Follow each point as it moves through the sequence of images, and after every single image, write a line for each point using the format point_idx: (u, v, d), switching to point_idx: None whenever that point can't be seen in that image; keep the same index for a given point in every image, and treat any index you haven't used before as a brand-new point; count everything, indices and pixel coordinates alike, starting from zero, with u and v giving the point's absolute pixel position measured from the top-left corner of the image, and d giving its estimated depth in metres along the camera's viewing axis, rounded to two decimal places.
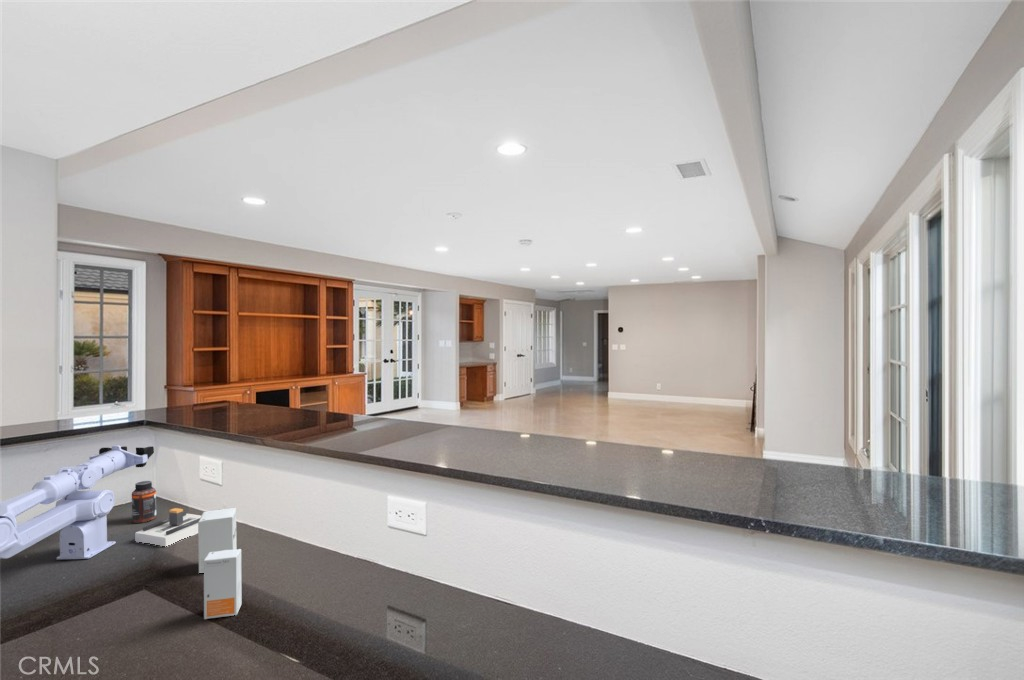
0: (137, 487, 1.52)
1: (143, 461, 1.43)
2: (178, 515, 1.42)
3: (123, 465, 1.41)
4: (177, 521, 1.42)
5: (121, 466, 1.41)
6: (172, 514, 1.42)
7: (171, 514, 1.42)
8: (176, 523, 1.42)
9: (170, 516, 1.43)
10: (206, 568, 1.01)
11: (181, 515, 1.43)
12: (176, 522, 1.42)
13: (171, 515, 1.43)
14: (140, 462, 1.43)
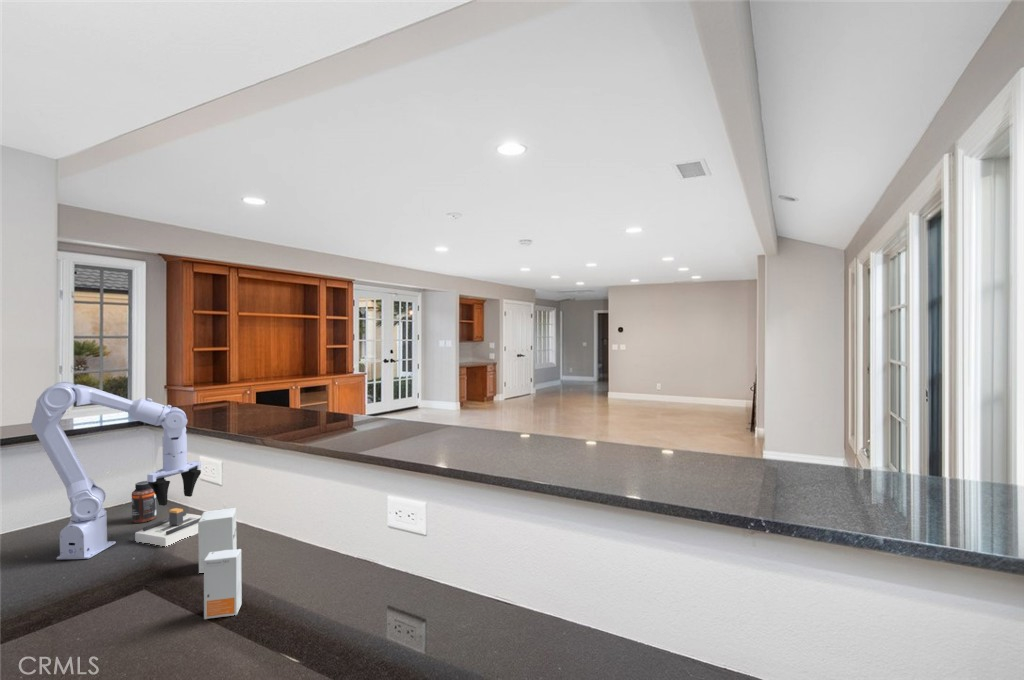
0: (137, 487, 1.52)
1: (148, 475, 1.36)
2: (178, 515, 1.42)
3: (163, 466, 1.41)
4: (177, 521, 1.42)
5: (163, 463, 1.41)
6: (172, 514, 1.42)
7: (171, 514, 1.42)
8: (176, 523, 1.42)
9: (170, 516, 1.43)
10: (206, 568, 1.01)
11: (181, 515, 1.43)
12: (176, 522, 1.42)
13: (171, 515, 1.43)
14: None
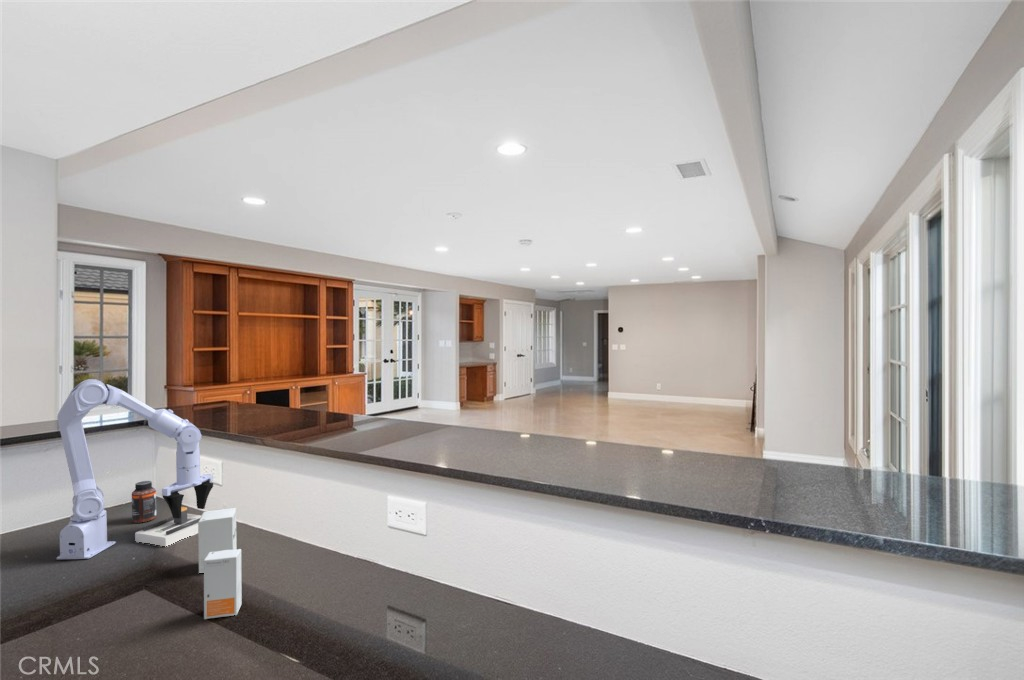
0: (137, 487, 1.52)
1: (163, 489, 1.40)
2: (183, 514, 1.44)
3: (177, 480, 1.45)
4: (181, 519, 1.43)
5: (177, 477, 1.45)
6: None
7: None
8: (180, 521, 1.43)
9: None
10: (206, 568, 1.01)
11: (185, 513, 1.44)
12: (180, 520, 1.43)
13: None
14: None
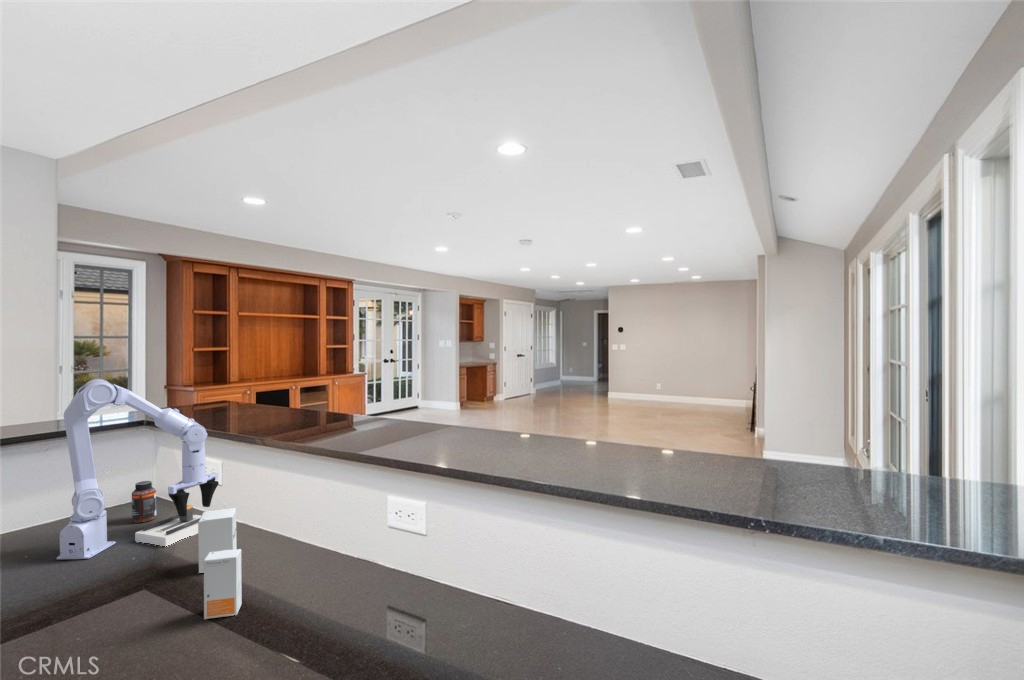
0: (137, 487, 1.52)
1: (169, 487, 1.42)
2: (188, 511, 1.45)
3: (182, 478, 1.46)
4: (187, 517, 1.45)
5: (182, 475, 1.46)
6: None
7: None
8: (186, 519, 1.45)
9: None
10: (206, 568, 1.01)
11: (191, 511, 1.46)
12: (186, 518, 1.45)
13: None
14: (171, 486, 1.43)
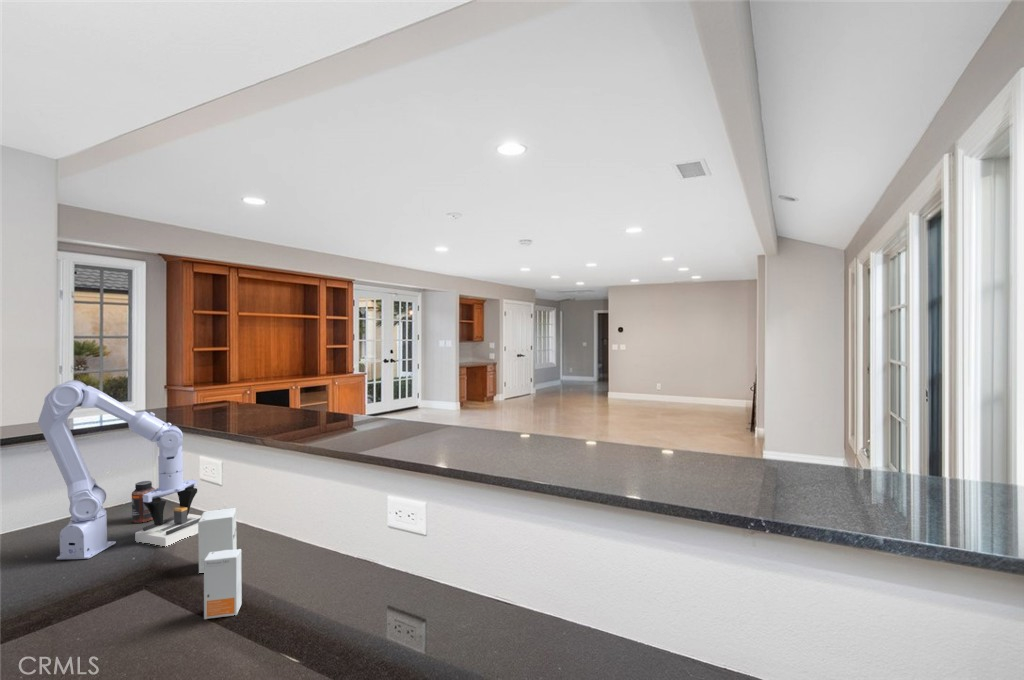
0: (137, 487, 1.52)
1: (144, 495, 1.35)
2: (183, 513, 1.44)
3: (159, 485, 1.40)
4: (182, 519, 1.43)
5: (159, 483, 1.40)
6: (177, 512, 1.44)
7: (176, 512, 1.44)
8: (181, 521, 1.43)
9: (175, 514, 1.44)
10: (206, 568, 1.01)
11: (185, 513, 1.45)
12: (181, 520, 1.43)
13: (176, 513, 1.44)
14: (146, 494, 1.36)
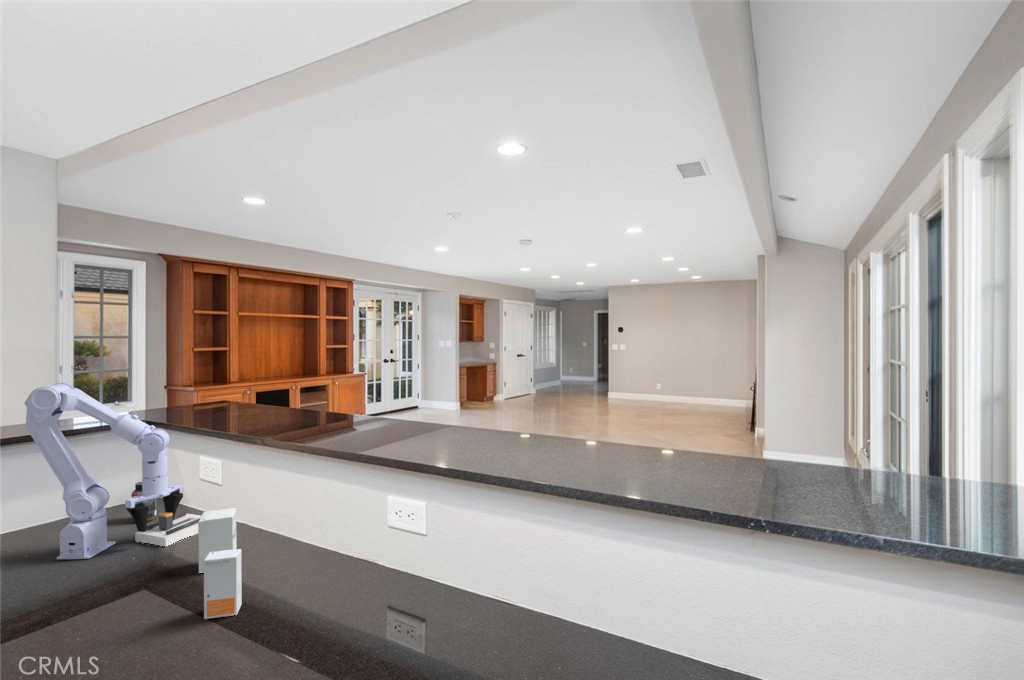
0: (137, 487, 1.52)
1: (126, 501, 1.31)
2: (168, 519, 1.40)
3: (142, 490, 1.35)
4: (167, 525, 1.39)
5: (142, 488, 1.35)
6: (162, 518, 1.39)
7: (160, 518, 1.40)
8: (166, 527, 1.39)
9: (159, 520, 1.40)
10: (206, 568, 1.01)
11: (171, 519, 1.40)
12: (166, 526, 1.39)
13: (161, 519, 1.40)
14: (129, 500, 1.32)
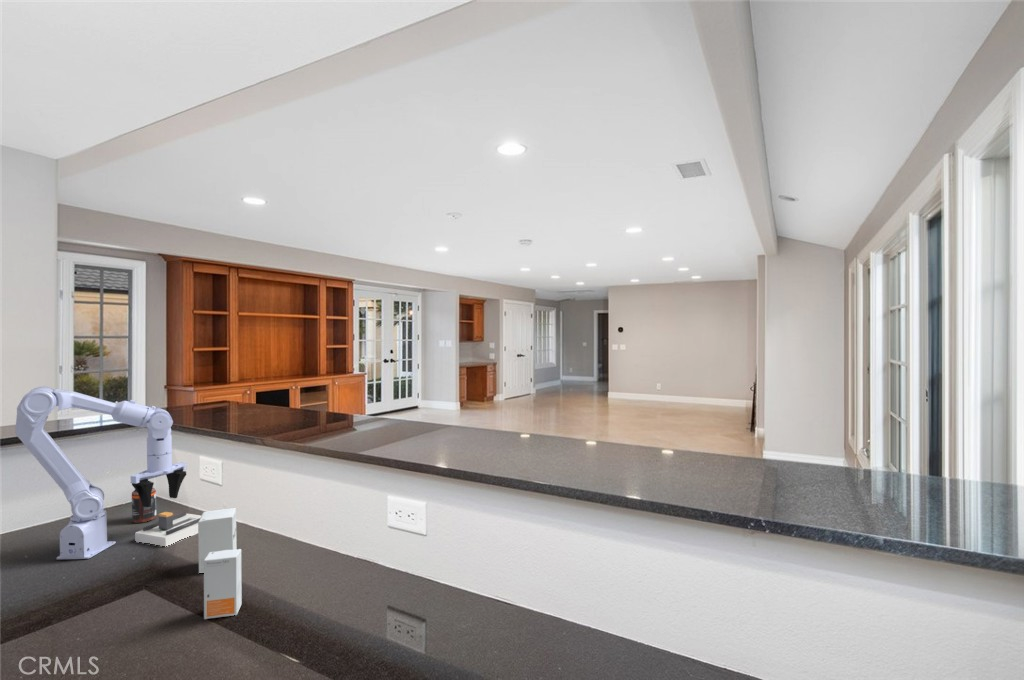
0: None
1: (131, 477, 1.35)
2: (168, 519, 1.40)
3: (147, 467, 1.40)
4: (167, 525, 1.39)
5: (147, 464, 1.40)
6: (162, 518, 1.39)
7: (160, 518, 1.40)
8: (166, 527, 1.39)
9: (159, 520, 1.40)
10: (206, 568, 1.01)
11: (171, 519, 1.40)
12: (166, 526, 1.39)
13: (161, 519, 1.40)
14: (134, 475, 1.36)
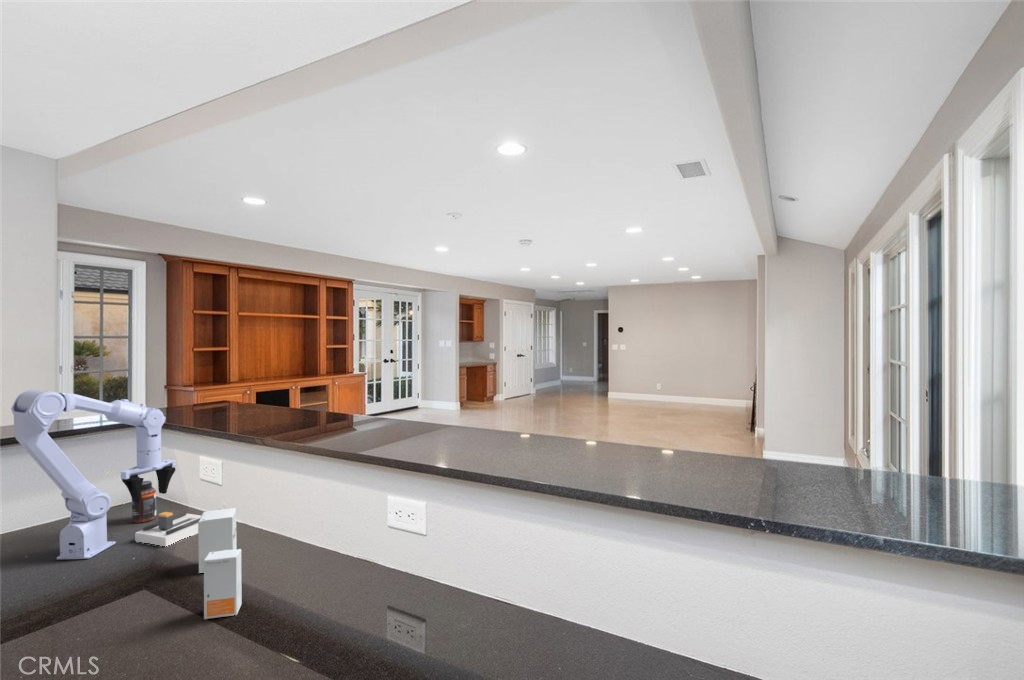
0: None
1: (122, 472, 1.39)
2: (168, 519, 1.40)
3: (137, 463, 1.43)
4: (167, 525, 1.39)
5: (137, 461, 1.43)
6: (162, 518, 1.39)
7: (160, 518, 1.40)
8: (166, 527, 1.39)
9: (159, 520, 1.40)
10: (206, 568, 1.01)
11: (171, 519, 1.40)
12: (166, 526, 1.39)
13: (161, 519, 1.40)
14: (124, 471, 1.40)
